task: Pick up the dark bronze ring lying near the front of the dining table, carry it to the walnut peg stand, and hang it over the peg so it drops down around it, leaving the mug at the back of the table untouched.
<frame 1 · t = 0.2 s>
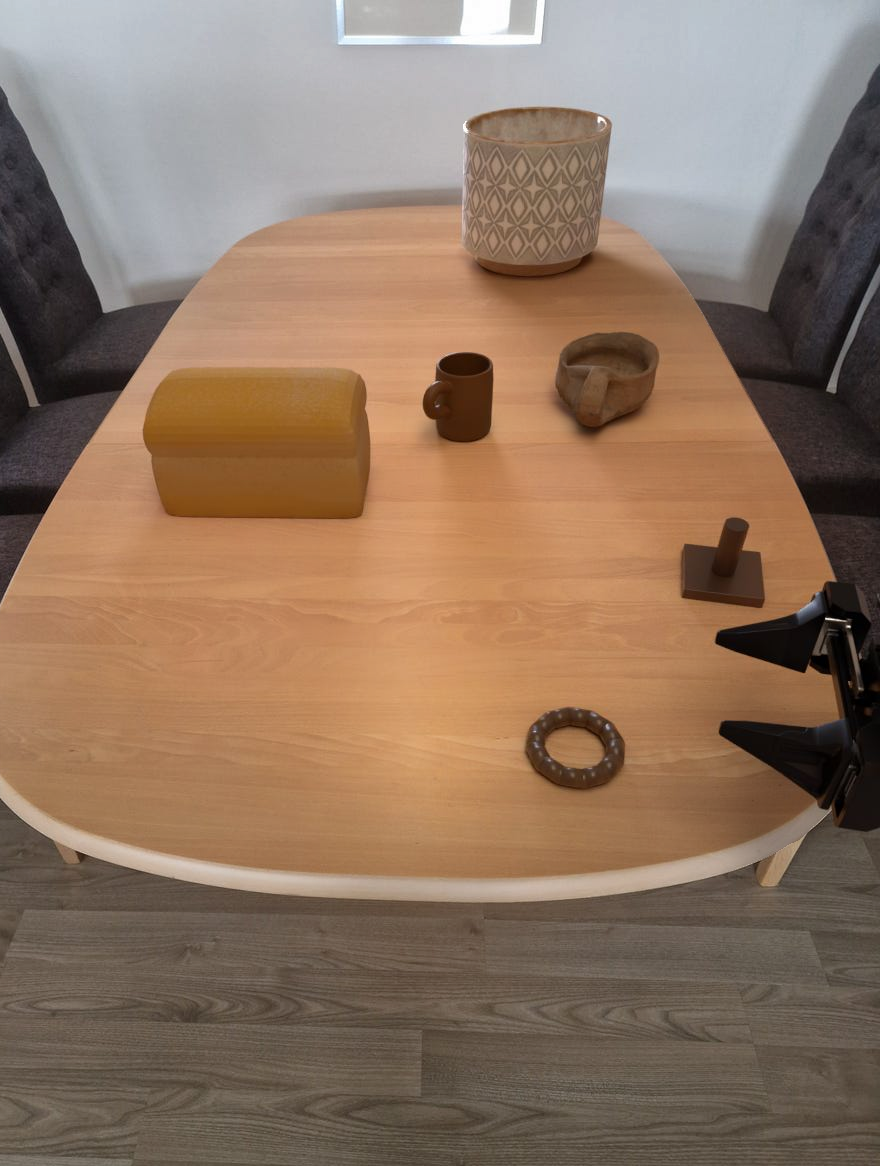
hand: (717, 679, 58), 15 cm above the table, tool horizontal, fingers open, 9 cm apart
stand: (720, 578, 90), on the table
bread: (271, 490, 105), on the table
ring: (575, 746, 73), point 1 cm above the table
mug: (453, 437, 113), on the table
planter: (527, 257, 160), on the table
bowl: (601, 413, 116), on the table
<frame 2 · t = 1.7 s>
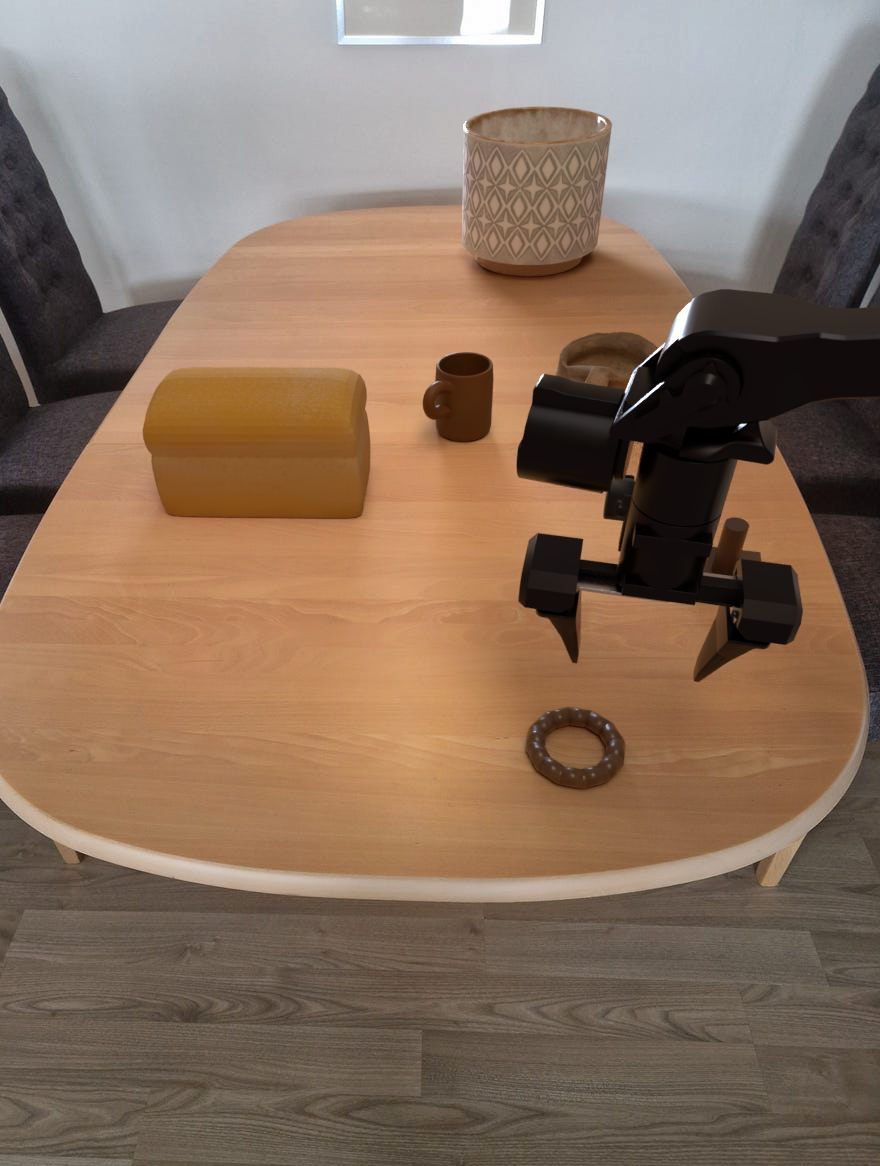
hand: (634, 668, 65), 11 cm above the table, tool pointing down, fingers open, 9 cm apart
nothing on the table moved.
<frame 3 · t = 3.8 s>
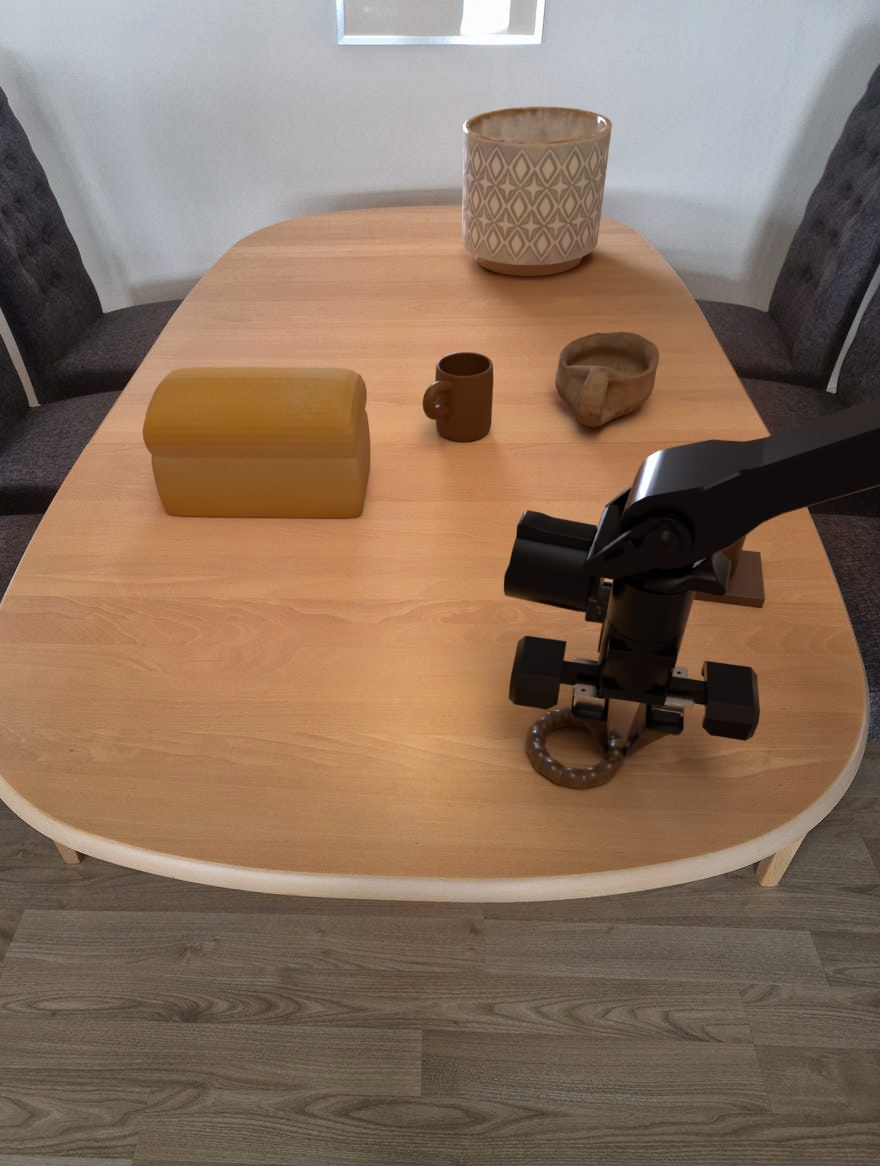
hand: (615, 751, 72), 1 cm above the table, tool pointing down, fingers closed on ring, 1 cm apart
ring: (575, 746, 73), point 1 cm above the table, touching gripper
everything else where it was.
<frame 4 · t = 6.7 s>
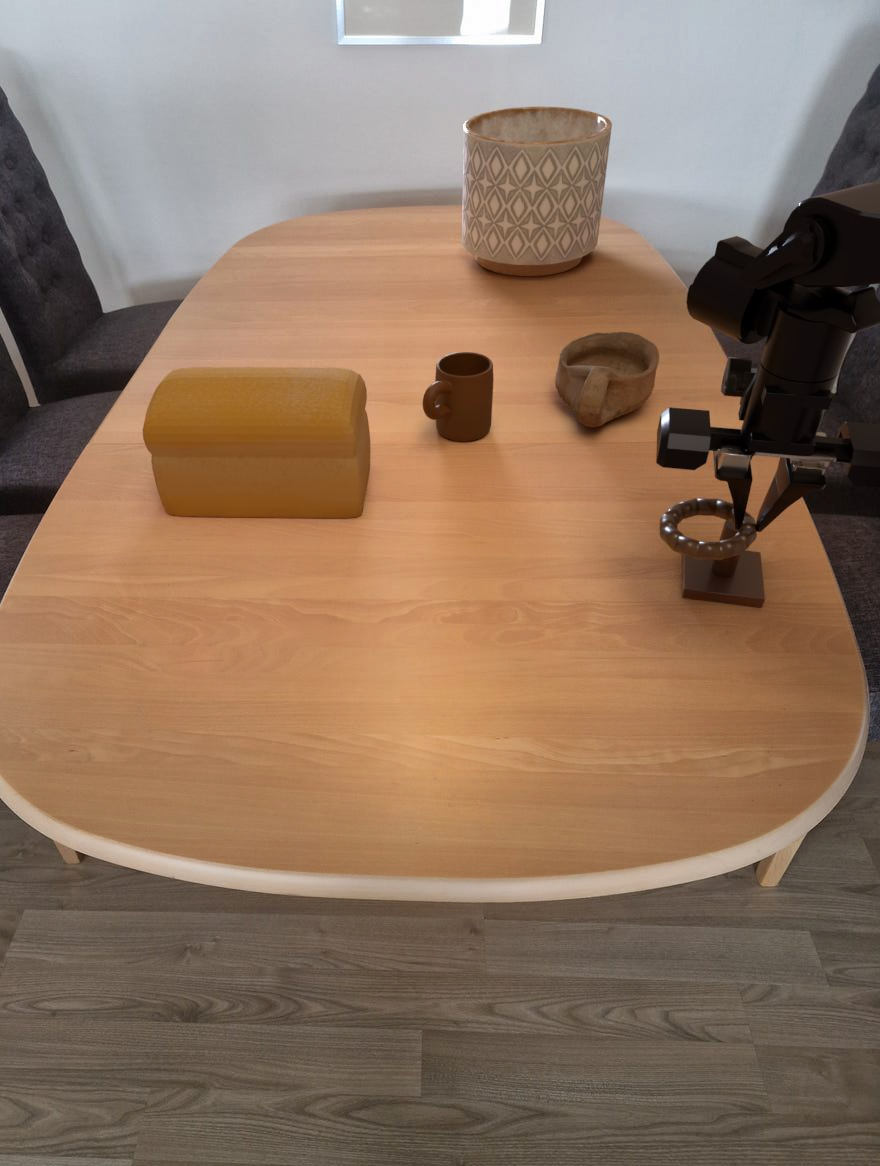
hand: (747, 528, 76), 12 cm above the table, tool pointing down, fingers closed on ring
ring: (707, 528, 77), point 12 cm above the table, tilted 5°, touching gripper
everything else where it was.
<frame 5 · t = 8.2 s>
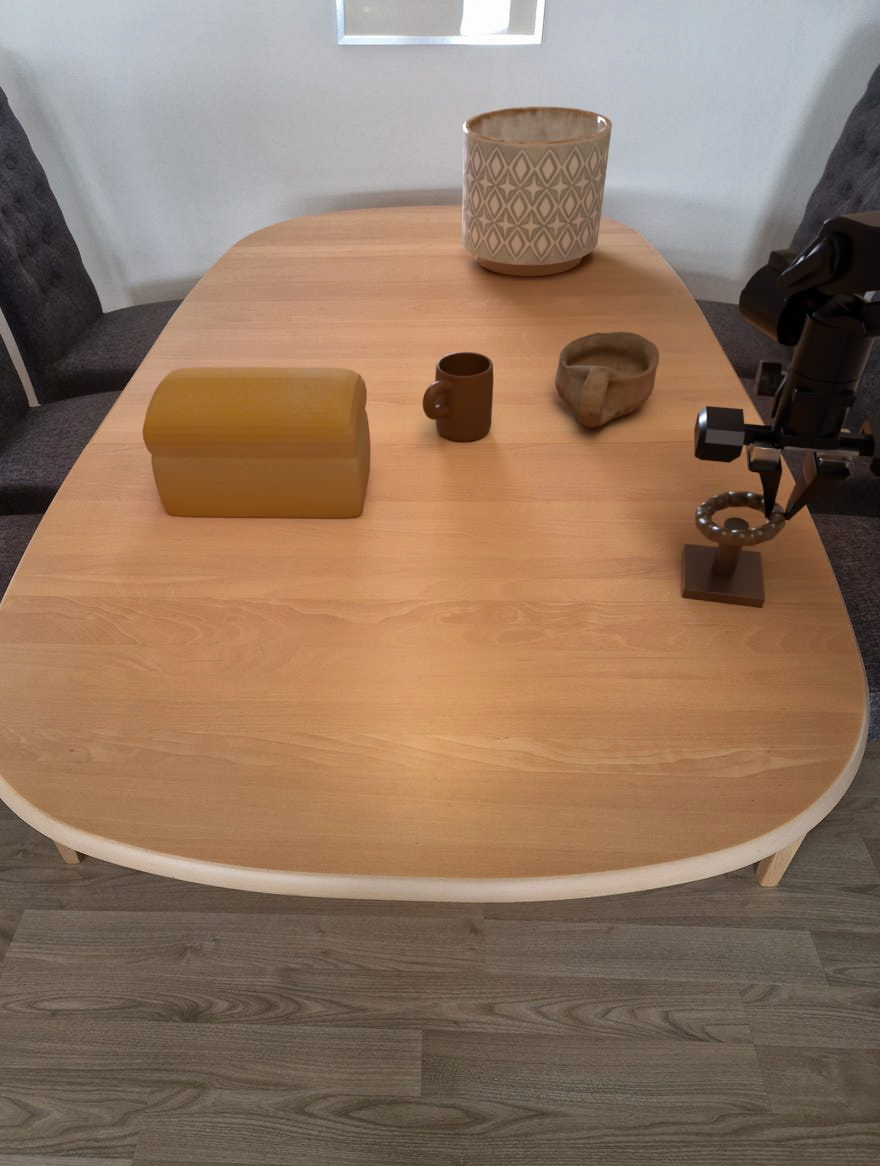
hand: (776, 516, 83), 9 cm above the table, tool pointing down, fingers closed on ring
ring: (739, 518, 84), point 8 cm above the table, tilted 9°, touching gripper
everything else where it was.
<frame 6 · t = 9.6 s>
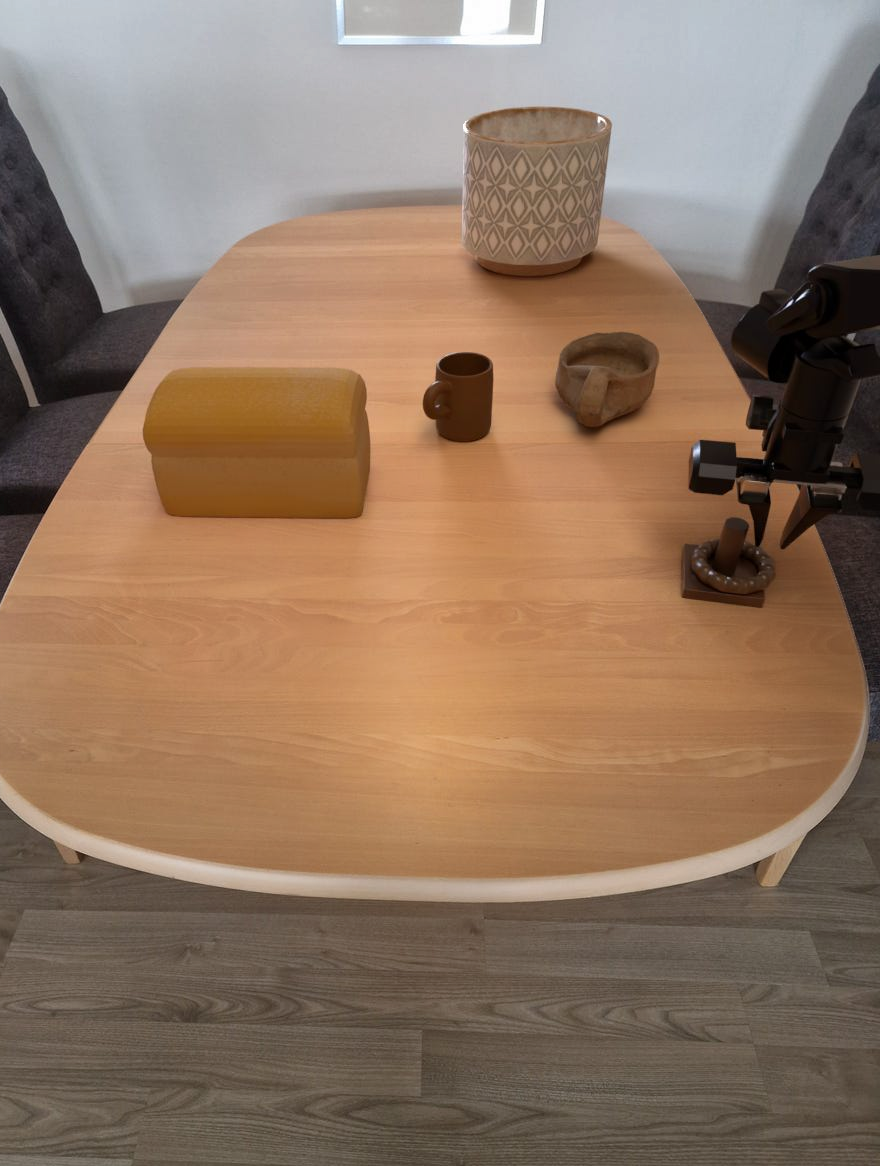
hand: (769, 545, 85), 5 cm above the table, tool pointing down, fingers closed
ring: (733, 565, 88), point 2 cm above the table, touching stand
everything else where it was.
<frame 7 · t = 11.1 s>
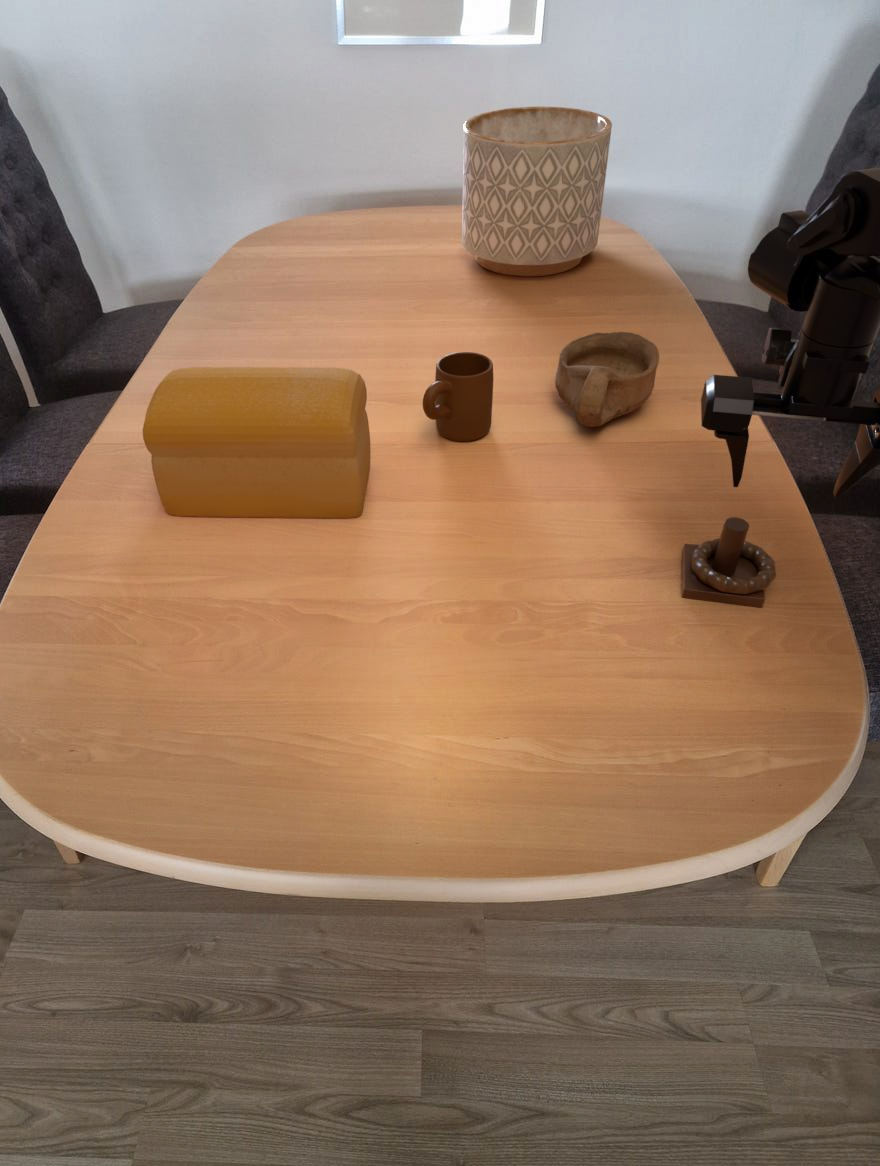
hand: (784, 489, 81), 12 cm above the table, tool pointing down, fingers open, 9 cm apart
nothing on the table moved.
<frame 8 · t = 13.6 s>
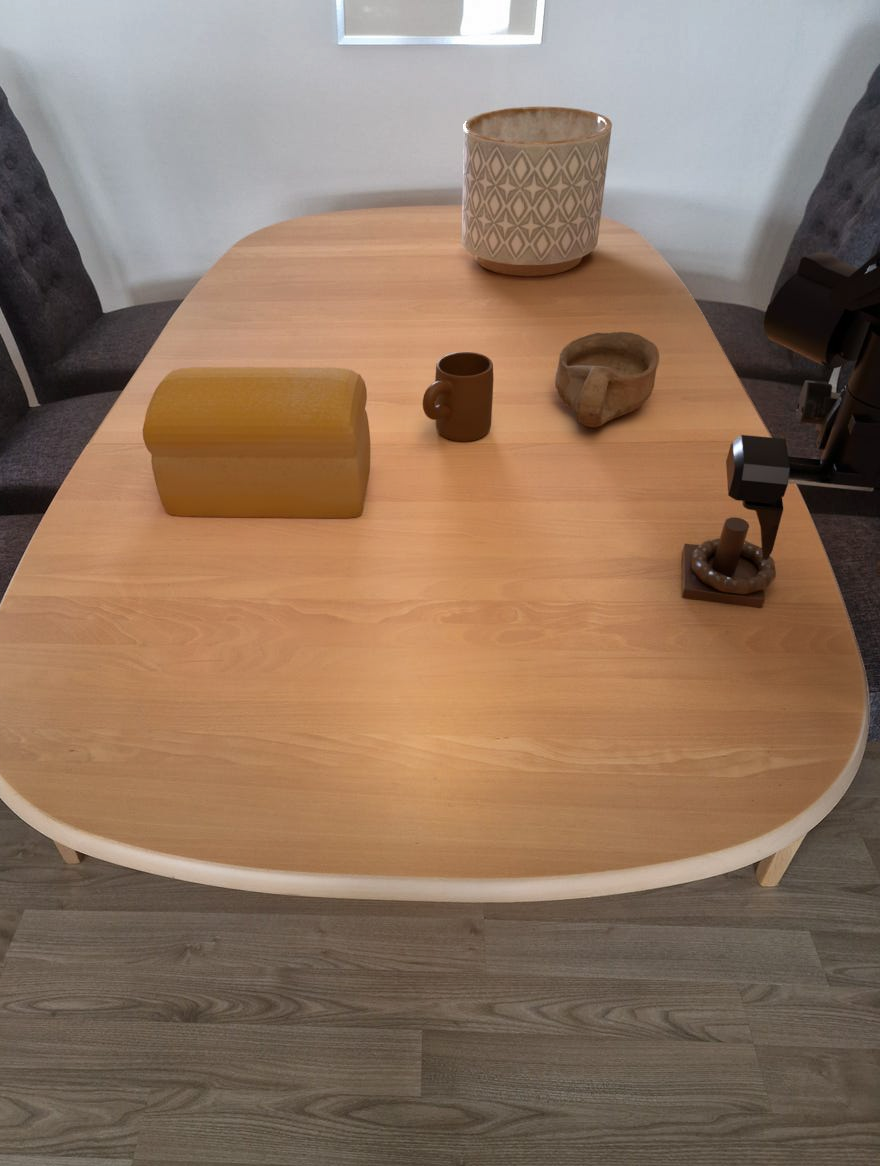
hand: (821, 563, 71), 13 cm above the table, tool pointing down, fingers open, 9 cm apart
nothing on the table moved.
at the end: ring 0.8 cm off-centre on the stand, point 2.0 cm above the stand's base; the gripper is holding nothing; mug moved 0.2 cm from its start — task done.
